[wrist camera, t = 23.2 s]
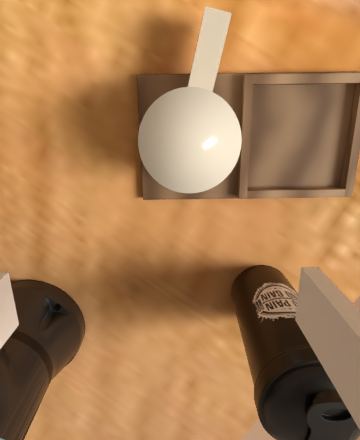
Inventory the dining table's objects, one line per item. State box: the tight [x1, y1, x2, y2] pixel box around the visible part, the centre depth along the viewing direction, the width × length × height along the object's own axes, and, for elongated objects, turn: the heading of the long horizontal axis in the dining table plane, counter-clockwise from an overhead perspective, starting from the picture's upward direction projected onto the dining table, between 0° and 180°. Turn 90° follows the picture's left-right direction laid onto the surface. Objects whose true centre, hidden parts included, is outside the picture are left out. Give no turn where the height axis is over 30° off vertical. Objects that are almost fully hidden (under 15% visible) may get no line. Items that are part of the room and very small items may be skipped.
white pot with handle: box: [138, 6, 242, 193], centre depth 34 cm, size 18×10×9 cm, turn 167°
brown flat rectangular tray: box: [137, 72, 360, 200], centre depth 39 cm, size 27×15×2 cm, turn 91°
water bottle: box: [231, 265, 360, 440], centre depth 36 cm, size 10×10×23 cm
